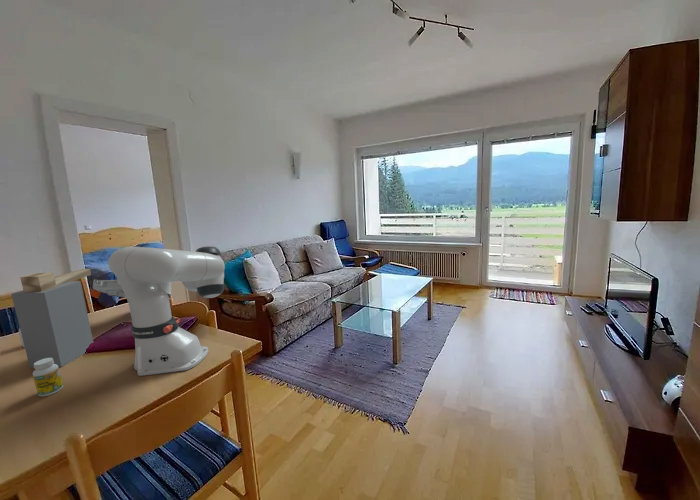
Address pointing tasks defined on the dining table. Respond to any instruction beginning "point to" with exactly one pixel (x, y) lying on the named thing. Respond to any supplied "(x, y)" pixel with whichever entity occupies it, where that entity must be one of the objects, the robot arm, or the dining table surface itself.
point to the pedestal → (54, 323)
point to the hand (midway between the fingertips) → (105, 281)
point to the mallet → (50, 280)
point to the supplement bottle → (47, 377)
